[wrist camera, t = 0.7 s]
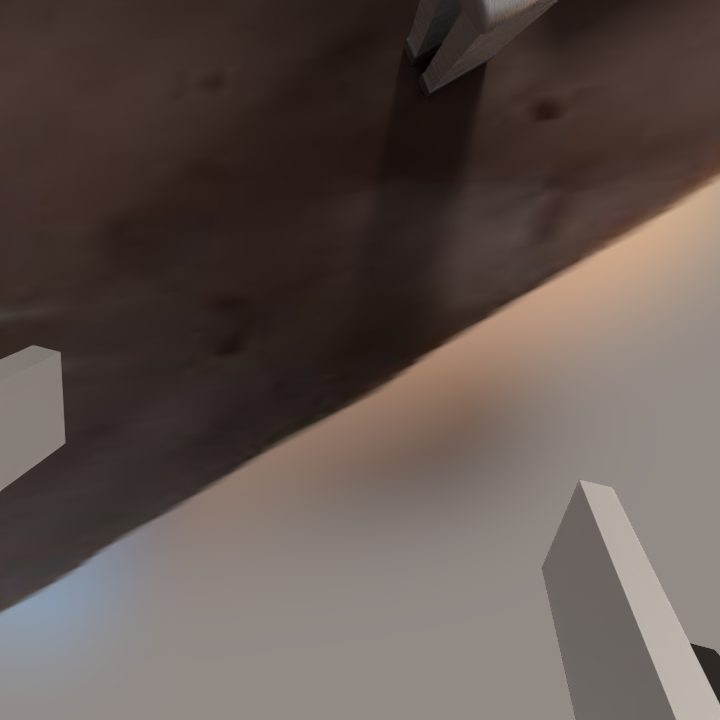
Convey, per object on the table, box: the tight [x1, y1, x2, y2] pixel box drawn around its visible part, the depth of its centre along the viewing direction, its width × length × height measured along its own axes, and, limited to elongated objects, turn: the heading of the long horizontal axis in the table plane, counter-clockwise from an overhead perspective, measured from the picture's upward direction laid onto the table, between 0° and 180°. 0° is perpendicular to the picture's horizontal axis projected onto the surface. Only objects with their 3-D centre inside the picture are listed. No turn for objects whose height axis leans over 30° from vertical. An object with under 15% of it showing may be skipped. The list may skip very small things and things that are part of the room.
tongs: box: [404, 0, 558, 98], centre depth 20 cm, size 3×5×18 cm, turn 118°
